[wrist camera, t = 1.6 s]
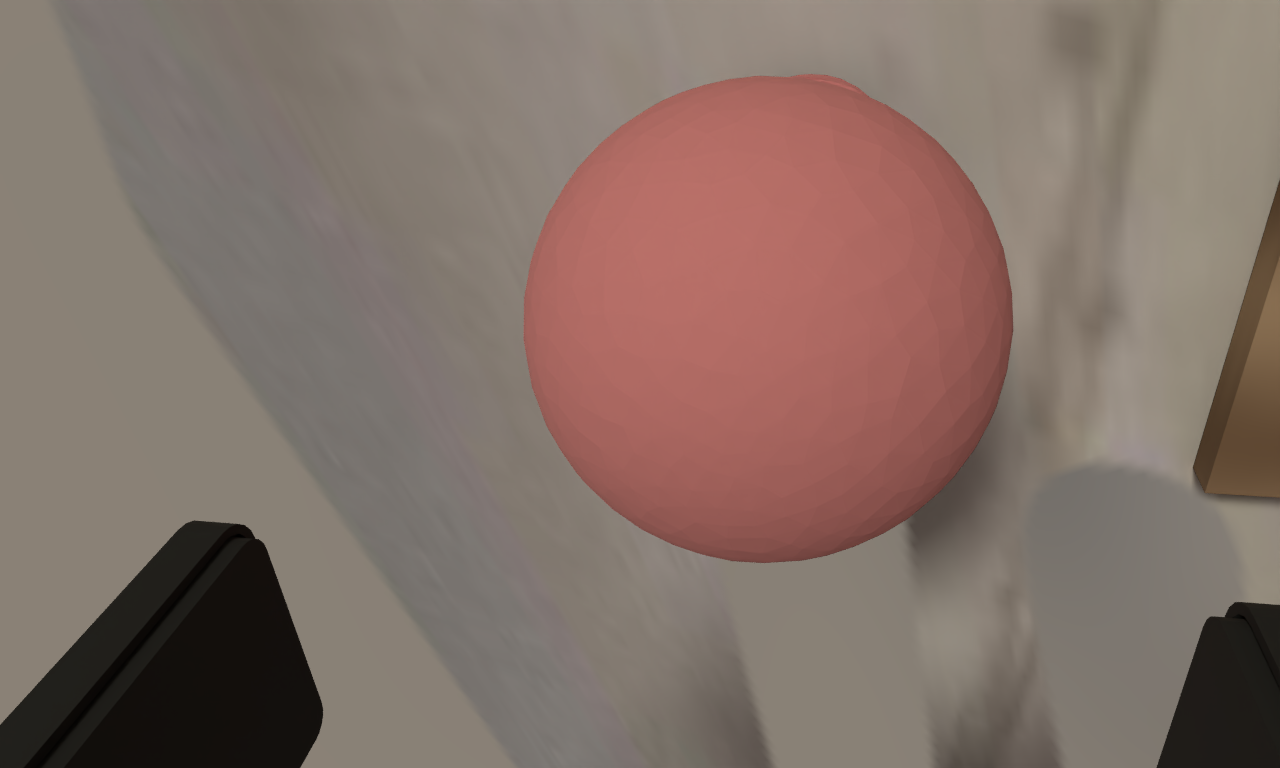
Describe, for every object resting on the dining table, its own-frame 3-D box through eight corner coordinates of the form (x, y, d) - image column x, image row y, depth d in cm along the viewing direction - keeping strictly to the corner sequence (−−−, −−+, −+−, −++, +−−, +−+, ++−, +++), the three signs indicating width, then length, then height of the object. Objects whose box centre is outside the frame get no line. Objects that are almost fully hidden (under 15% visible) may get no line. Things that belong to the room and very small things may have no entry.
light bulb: (578, 80, 22) (339, 353, 12) (871, -107, 18) (880, 53, 9) (735, 325, 24) (647, 715, 14) (1014, 199, 21) (1144, 587, 11)
